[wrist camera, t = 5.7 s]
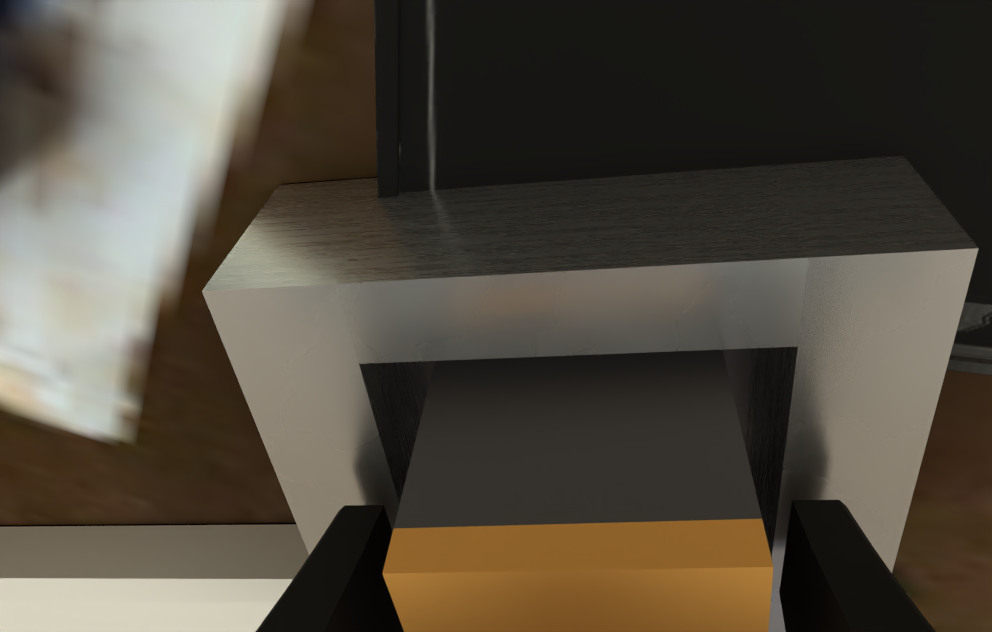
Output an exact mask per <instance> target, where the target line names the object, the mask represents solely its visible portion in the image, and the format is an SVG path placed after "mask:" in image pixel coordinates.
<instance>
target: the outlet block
mask: <svg viewBox="0 0 992 632" xmlns="http://www.w3.org/2000/svg"><path fill="white" fill-rule="evenodd" d="M978 249H979V248H978V247H977V246H976V244H975V243H974V242H973V241H972V240H971V238H970V237H969V236H968V235H967V233H966V232H965V231H964V230H963V228H962V227H961V226H960V225H959V223H958V222H957V221H956V220H955V219H954V217H953V216H952V215H951V214H950V212H949V211H948V210H947V209H946V207H945V206H944V205H943V204H942V202H941V201H940V200H939V199H938V198H937V196H936V195H935V194H934V193H933V191H932V190H931V189H930V188H929V186H928V185H927V184H926V183H925V182H924V180H923V179H922V178H921V177H920V175H919V174H918V173H917V172H916V170H915V169H914V168H913V167H912V165H911V164H910V163H909V162H908V161H907V159H906V158H905V157H904V156H892V157H878V158H864V159H851V160H837V161H823V162H810V163H796V164H782V165H769V166H755V167H741V168H728V169H714V170H700V171H687V172H673V173H659V174H646V175H632V176H618V177H605V178H591V179H577V180H564V181H550V182H536V183H523V184H509V185H495V186H482V187H468V188H454V189H441V190H427V191H413V192H400V193H399V194H398V196H397V197H388V198H377V178H367V179H354V180H341V181H327V182H314V183H301V184H288V185H278V187H277V188H276V189H275V191H274V192H273V194H272V195H271V196H270V198H269V199H268V201H267V202H266V203H265V205H264V206H263V207H262V209H261V210H260V212H259V213H258V214H257V216H256V217H255V219H254V220H253V221H252V223H251V224H250V225H249V227H248V228H247V230H246V231H245V232H244V234H243V235H242V237H241V238H240V239H239V241H238V242H237V243H236V245H235V246H234V248H233V249H232V250H231V252H230V253H229V254H228V256H227V257H226V259H225V260H224V261H223V263H222V264H221V266H220V267H219V268H218V270H217V271H216V272H215V274H214V275H213V277H212V278H211V279H210V281H209V282H208V284H207V285H206V286H205V288H204V289H203V290H202V293H203V295H204V298H205V300H206V303H207V305H208V308H209V310H210V312H211V315H212V317H213V320H214V322H215V325H216V327H217V330H218V332H219V335H220V337H221V339H222V342H223V344H224V347H225V349H226V352H227V354H228V357H229V359H230V362H231V364H232V367H233V369H234V371H235V374H236V376H237V379H238V381H239V384H240V386H241V389H242V391H243V394H244V396H245V399H246V401H247V403H248V406H249V408H250V411H251V413H252V416H253V418H254V421H255V423H256V426H257V428H258V431H259V433H260V435H261V438H262V440H263V443H264V445H265V448H266V450H267V453H268V455H269V458H270V460H271V463H272V465H273V467H274V470H275V472H276V475H277V477H278V480H279V482H280V485H281V487H282V490H283V492H284V494H285V497H286V499H287V502H288V504H289V507H290V509H291V512H292V514H293V517H294V519H295V522H296V524H297V526H298V529H299V531H300V534H301V536H302V539H303V541H304V544H305V546H306V549H307V551H308V554H309V555H310V554H311V552H312V551H313V549H314V548H315V546H316V545H317V543H318V542H319V540H320V539H321V537H322V536H323V534H324V533H325V531H326V530H327V528H328V527H329V525H330V524H331V522H332V521H333V519H334V517H335V516H336V514H337V513H338V511H339V510H340V509H341V508H342V507H343V506H344V505H384V507H385V510H386V513H387V517H388V520H389V523H390V527H391V530H392V533H393V529H394V525H395V521H396V517H397V513H398V509H399V505H400V501H401V497H402V493H403V489H404V485H405V481H406V477H407V473H408V469H409V465H410V461H411V457H412V453H413V448H414V444H415V440H416V436H417V432H418V428H419V424H420V420H421V416H422V412H423V408H424V404H425V400H426V396H427V392H428V388H429V384H430V380H431V376H432V372H433V368H434V364H435V361H444V360H469V359H494V358H520V357H545V356H571V355H596V354H622V353H647V352H672V351H698V350H723V354H724V358H725V362H726V367H727V371H728V375H729V379H730V384H731V388H732V392H733V397H734V401H735V405H736V409H737V414H738V418H739V422H740V426H741V431H742V435H743V439H744V443H745V448H746V452H747V456H748V460H749V465H750V469H751V473H752V478H753V482H754V486H755V490H756V495H757V499H758V503H759V507H760V512H761V516H762V520H763V524H764V529H765V533H766V537H767V541H768V546H769V550H770V554H771V558H772V563H773V579H772V592H771V604H770V617H769V629H768V632H786V630H785V624H784V619H783V613H782V607H781V601H780V595H779V590H780V583H781V575H782V568H783V561H784V554H785V547H786V539H787V532H788V525H789V518H790V510H791V503H792V500H840V501H841V502H842V503H844V504H845V505H846V506H847V507H848V509H849V511H850V512H851V514H852V515H853V517H854V519H855V520H856V522H857V523H858V525H859V526H860V528H861V529H862V531H863V532H864V534H865V535H866V537H867V538H868V540H869V541H870V543H871V544H872V546H873V547H874V549H875V550H876V551H877V553H878V554H879V556H880V557H881V559H882V560H883V562H884V563H885V564H886V566H887V567H888V569H889V570H890V571H891V573H892V571H893V567H894V563H895V560H896V556H897V552H898V548H899V545H900V541H901V537H902V533H903V530H904V526H905V522H906V518H907V515H908V511H909V507H910V503H911V500H912V496H913V492H914V488H915V485H916V481H917V477H918V473H919V470H920V466H921V462H922V458H923V455H924V451H925V447H926V443H927V440H928V436H929V432H930V428H931V425H932V421H933V417H934V414H935V410H936V406H937V402H938V399H939V395H940V391H941V387H942V384H943V380H944V376H945V372H946V369H947V365H948V361H949V357H950V354H951V350H952V346H953V342H954V339H955V335H956V331H957V327H958V324H959V320H960V316H961V312H962V309H963V305H964V301H965V297H966V294H967V290H968V286H969V282H970V279H971V275H972V271H973V268H974V264H975V260H976V256H977V253H978Z"/></svg>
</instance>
